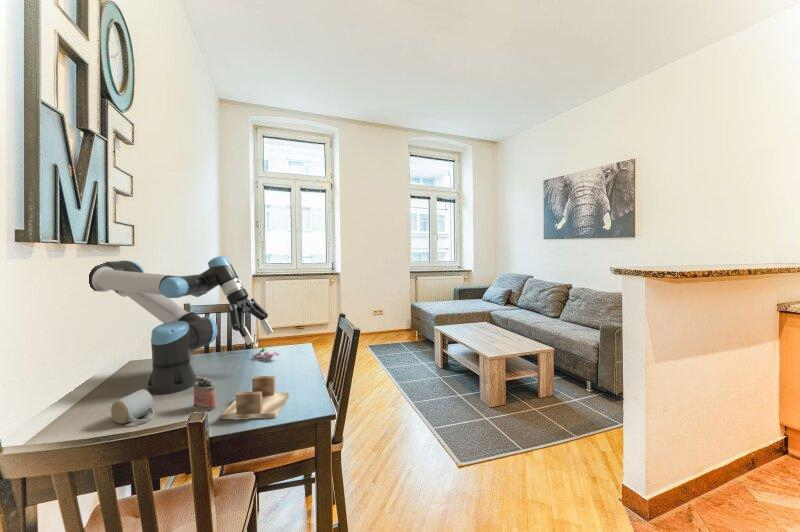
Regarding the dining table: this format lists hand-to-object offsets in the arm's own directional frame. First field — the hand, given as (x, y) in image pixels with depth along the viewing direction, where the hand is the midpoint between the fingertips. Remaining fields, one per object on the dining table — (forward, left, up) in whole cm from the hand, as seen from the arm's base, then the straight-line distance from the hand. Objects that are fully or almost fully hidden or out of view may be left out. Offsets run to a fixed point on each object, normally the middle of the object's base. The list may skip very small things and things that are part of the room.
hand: (261, 338), depth 138 cm
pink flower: (-5, +22, -16) cm, 28 cm away
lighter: (-9, -27, -16) cm, 33 cm away
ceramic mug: (-26, -33, -16) cm, 45 cm away
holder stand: (+8, -28, -16) cm, 33 cm away
